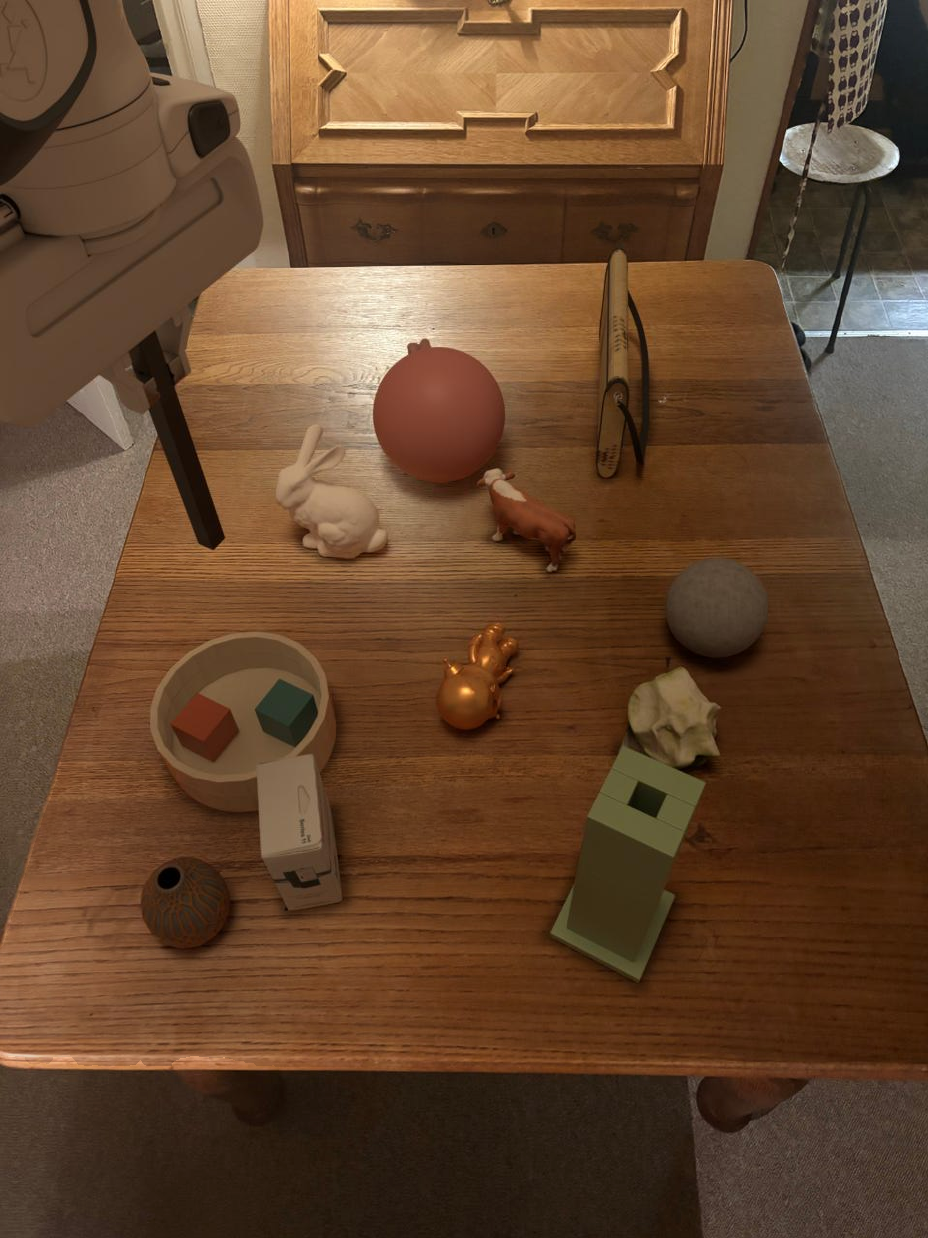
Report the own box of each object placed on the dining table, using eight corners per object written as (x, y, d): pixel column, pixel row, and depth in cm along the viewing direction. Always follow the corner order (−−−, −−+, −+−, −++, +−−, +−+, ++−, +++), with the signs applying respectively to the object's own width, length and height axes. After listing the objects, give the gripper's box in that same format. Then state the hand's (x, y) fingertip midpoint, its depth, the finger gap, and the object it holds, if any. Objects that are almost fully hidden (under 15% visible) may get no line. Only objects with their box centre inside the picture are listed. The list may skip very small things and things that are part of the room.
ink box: (280, 822, 84) (254, 758, 74) (334, 813, 84) (314, 748, 75) (286, 915, 78) (258, 858, 69) (343, 904, 79) (324, 846, 69)
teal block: (296, 748, 87) (288, 726, 84) (262, 731, 89) (254, 709, 86) (319, 716, 90) (313, 694, 86) (286, 700, 91) (279, 678, 88)
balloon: (491, 396, 120) (491, 291, 108) (512, 503, 108) (515, 398, 96) (374, 406, 120) (362, 302, 108) (382, 515, 107) (369, 411, 95)
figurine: (544, 658, 93) (506, 741, 85) (502, 675, 97) (462, 757, 89) (492, 599, 91) (448, 678, 82) (452, 619, 95) (405, 697, 86)
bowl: (271, 842, 82) (258, 812, 78) (131, 765, 88) (111, 733, 83) (369, 706, 91) (362, 672, 86) (236, 643, 96) (223, 608, 92)
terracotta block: (214, 763, 87) (203, 741, 84) (181, 745, 88) (169, 724, 85) (239, 730, 89) (230, 708, 86) (207, 714, 90) (197, 692, 87)
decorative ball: (736, 594, 99) (758, 531, 91) (769, 669, 93) (795, 608, 85) (647, 607, 98) (660, 544, 90) (674, 683, 92) (691, 623, 84)
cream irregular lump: (628, 698, 92) (649, 643, 87) (718, 732, 91) (745, 677, 85) (605, 764, 86) (626, 708, 80) (701, 801, 84) (729, 747, 79)
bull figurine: (492, 505, 108) (492, 452, 102) (580, 562, 102) (586, 511, 96) (466, 524, 106) (465, 472, 100) (555, 584, 100) (559, 533, 94)
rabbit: (279, 547, 105) (258, 469, 95) (316, 493, 110) (300, 414, 100) (375, 575, 102) (363, 498, 92) (408, 518, 107) (400, 439, 98)
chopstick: (213, 551, 64) (134, 329, 50) (198, 544, 64) (114, 322, 50) (226, 538, 65) (151, 315, 50) (210, 531, 65) (132, 309, 51)
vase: (142, 947, 77) (107, 909, 70) (177, 871, 81) (147, 828, 74) (218, 967, 76) (190, 930, 69) (249, 888, 80) (226, 846, 73)
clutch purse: (652, 491, 109) (671, 389, 97) (593, 488, 109) (605, 386, 98) (647, 341, 127) (663, 240, 115) (597, 339, 127) (607, 238, 116)
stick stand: (638, 984, 74) (683, 878, 57) (549, 937, 77) (566, 822, 59) (673, 899, 78) (725, 776, 61) (588, 857, 81) (614, 728, 64)
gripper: (-51, 281, 37) (73, 521, 48) (256, 83, 48) (300, 316, 58) (-155, 243, 39) (-13, 481, 50) (163, 62, 49) (222, 290, 60)
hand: (158, 390), depth 54 cm, fingers closed on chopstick, 1 cm apart
